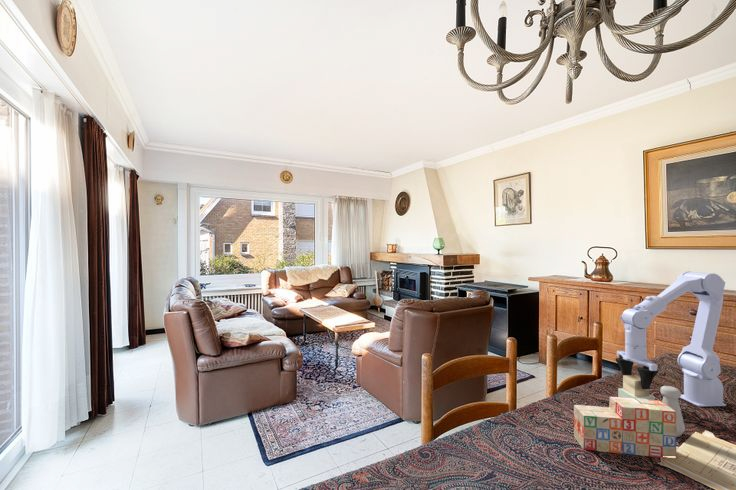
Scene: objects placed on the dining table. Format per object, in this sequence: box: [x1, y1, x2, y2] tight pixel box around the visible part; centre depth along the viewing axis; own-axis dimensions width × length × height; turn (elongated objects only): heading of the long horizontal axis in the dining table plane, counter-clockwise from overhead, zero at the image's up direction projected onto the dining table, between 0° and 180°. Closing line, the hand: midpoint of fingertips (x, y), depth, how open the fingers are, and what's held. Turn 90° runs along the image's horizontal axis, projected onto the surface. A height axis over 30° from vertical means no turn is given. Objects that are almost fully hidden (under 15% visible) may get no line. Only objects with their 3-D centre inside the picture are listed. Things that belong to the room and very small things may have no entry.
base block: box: [617, 387, 656, 400], centre depth 114 cm, size 7×7×3 cm
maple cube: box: [622, 374, 650, 396], centre depth 114 cm, size 5×5×5 cm
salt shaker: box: [659, 385, 686, 438], centre depth 95 cm, size 6×6×13 cm
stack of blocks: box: [573, 396, 677, 458], centre depth 89 cm, size 21×6×12 cm, turn 79°
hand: (636, 384), depth 114 cm, fingers open, 7 cm apart
